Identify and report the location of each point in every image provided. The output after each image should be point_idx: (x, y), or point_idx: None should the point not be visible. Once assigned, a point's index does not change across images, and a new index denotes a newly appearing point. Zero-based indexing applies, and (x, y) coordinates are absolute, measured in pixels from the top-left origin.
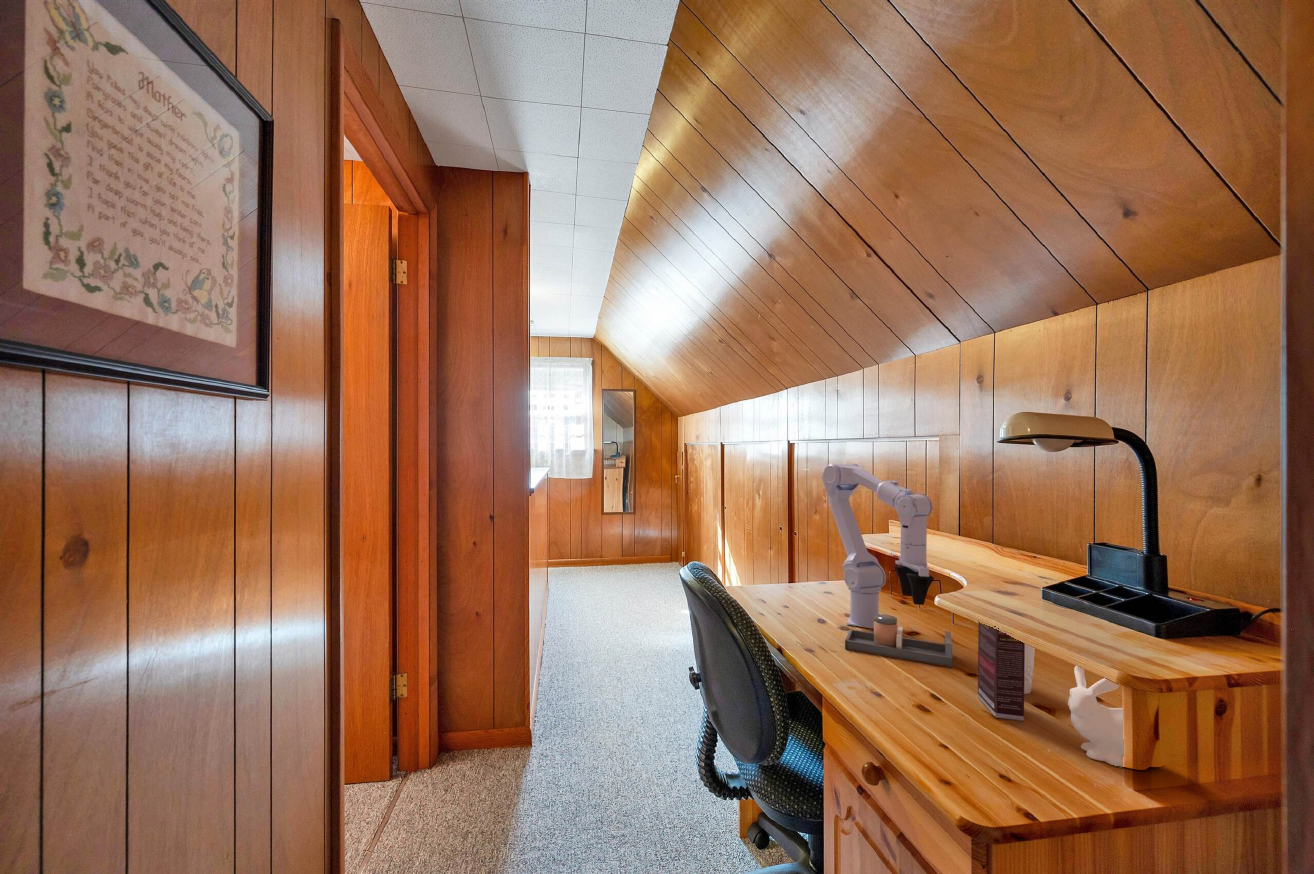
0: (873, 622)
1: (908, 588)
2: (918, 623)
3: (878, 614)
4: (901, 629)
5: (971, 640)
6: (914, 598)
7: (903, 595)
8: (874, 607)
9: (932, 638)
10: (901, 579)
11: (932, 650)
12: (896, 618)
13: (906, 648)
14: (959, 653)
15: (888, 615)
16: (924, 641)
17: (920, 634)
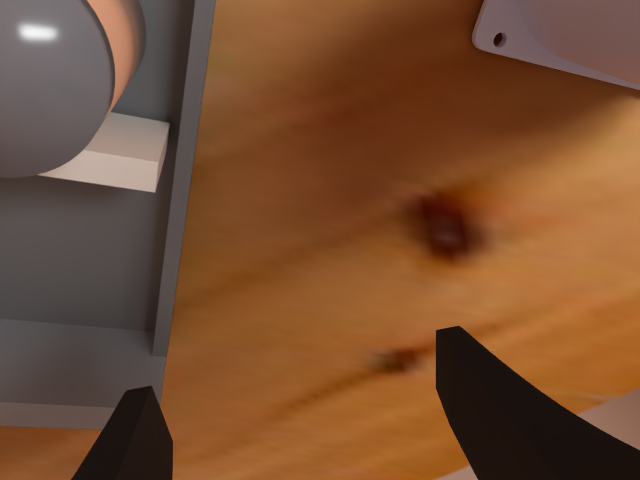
0: (531, 17)
1: (465, 419)
2: (608, 276)
3: (64, 6)
4: (85, 176)
5: (391, 432)
6: (101, 435)
7: (442, 329)
8: (601, 42)
9: (380, 305)
10: (523, 446)
11: (150, 284)
12: (9, 172)
13: None
14: (191, 378)
15: (82, 111)
16: (164, 273)
17: (432, 263)
